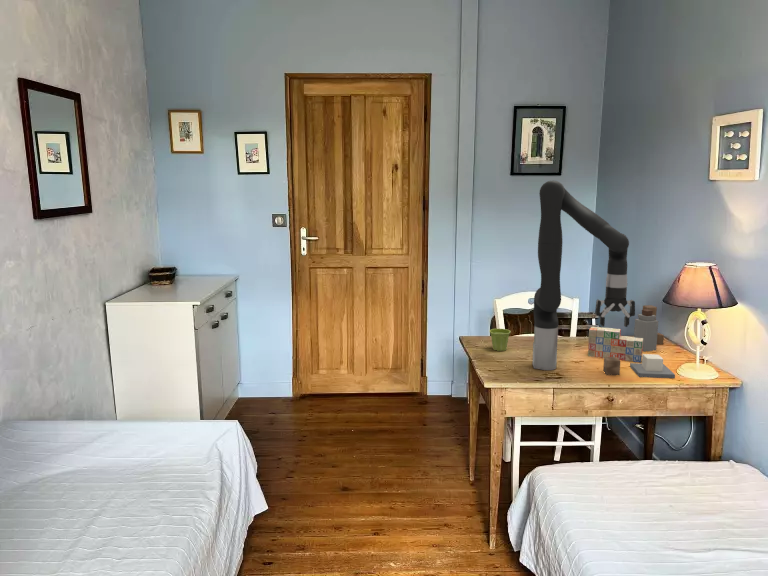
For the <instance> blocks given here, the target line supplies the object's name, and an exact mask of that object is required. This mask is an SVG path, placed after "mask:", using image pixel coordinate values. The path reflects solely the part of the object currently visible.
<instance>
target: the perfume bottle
mask: <svg viewBox="0 0 768 576" xmlns="http://www.w3.org/2000/svg"><path fill="white" fill-rule="evenodd" d="M652 314H653V311H652V310H648V309H645V310H643V309H641V313H639V314H637V317H638V318H635V319H634V331H633V332H634V333H633V337H635V338H643V350H642V352H644V353H646V351H647V352H651V351H652V352H653V350H654V351H657V346H658V344H657V333H659V331H658V329H659V320H657V315H656V316H655V315H652ZM655 318H656V320H655Z"/></svg>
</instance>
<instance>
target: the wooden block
mask: <svg viewBox="0 0 768 576" xmlns="http://www.w3.org/2000/svg"><path fill="white" fill-rule="evenodd" d="M645 309H648V310H652V311H653V314H652V315H655V316H656V318H655V320H657V310H658V308H657V306H655V305H652V304H647V305H646V304H645V305H642V310H645ZM664 338H665V336H664V334H663V333H660V332H658V333H657V345H664Z"/></svg>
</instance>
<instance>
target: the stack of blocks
mask: <svg viewBox="0 0 768 576" xmlns="http://www.w3.org/2000/svg"><path fill="white" fill-rule="evenodd" d="M621 329H622V328H621ZM621 329H620V328H612V327H602V326H601V327H598V326H591V327H590V328H589V330H588V343H587V344H588V348H587V349H588V351H587V356H588V357H592V358H598V357H601V358H600V359H604V357H617V358H618V359H619V360H620V361H623V360H625V362H632V361H633V362H632V363H641V364H642V355H643V351H642V350H643V338H635V337H634V336H627V335H626V336H625V335H624V336H623V335H621V333H622V332H621Z"/></svg>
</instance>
